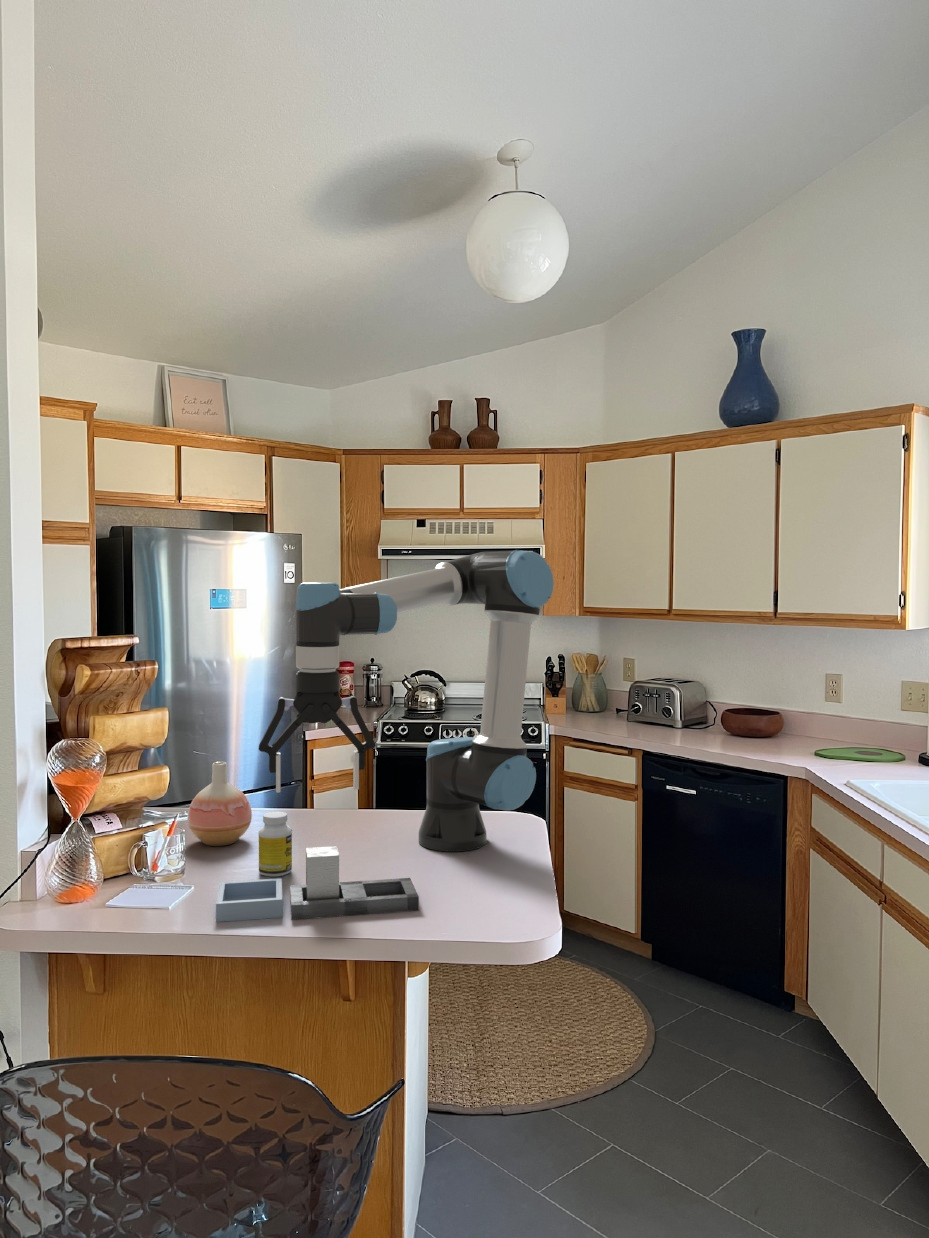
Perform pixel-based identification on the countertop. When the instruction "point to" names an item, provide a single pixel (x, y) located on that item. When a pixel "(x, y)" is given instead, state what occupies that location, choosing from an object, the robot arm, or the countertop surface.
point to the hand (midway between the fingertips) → (317, 789)
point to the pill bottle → (275, 845)
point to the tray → (249, 900)
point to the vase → (219, 811)
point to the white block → (322, 873)
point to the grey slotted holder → (357, 899)
